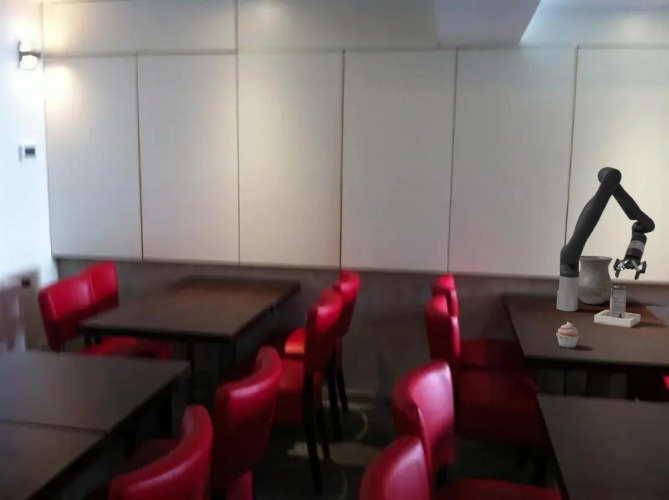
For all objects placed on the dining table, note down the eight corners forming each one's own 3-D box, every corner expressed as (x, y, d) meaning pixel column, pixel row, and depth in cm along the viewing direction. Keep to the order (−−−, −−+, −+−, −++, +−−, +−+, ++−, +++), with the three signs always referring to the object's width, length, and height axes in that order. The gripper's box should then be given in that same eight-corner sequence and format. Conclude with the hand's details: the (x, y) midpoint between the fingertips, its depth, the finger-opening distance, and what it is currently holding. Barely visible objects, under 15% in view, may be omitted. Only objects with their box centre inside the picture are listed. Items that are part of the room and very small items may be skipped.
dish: (594, 322, 310) (594, 315, 310) (605, 316, 323) (605, 309, 322) (630, 327, 300) (630, 320, 300) (640, 321, 312) (640, 314, 312)
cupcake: (560, 341, 275) (561, 318, 274) (582, 345, 269) (584, 321, 268) (551, 346, 268) (552, 322, 266) (574, 350, 262) (575, 325, 261)
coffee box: (608, 317, 317) (610, 284, 315) (623, 318, 315) (625, 285, 313) (610, 322, 308) (612, 287, 306) (625, 323, 306) (627, 288, 304)
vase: (565, 301, 360) (567, 255, 357) (591, 298, 368) (593, 254, 365) (593, 308, 342) (595, 260, 339) (620, 305, 350) (623, 258, 347)
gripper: (618, 245, 326) (609, 271, 319) (649, 248, 317) (640, 274, 309) (621, 255, 331) (612, 281, 323) (651, 258, 321) (643, 284, 314)
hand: (626, 278), depth 316 cm, fingers open, 8 cm apart
